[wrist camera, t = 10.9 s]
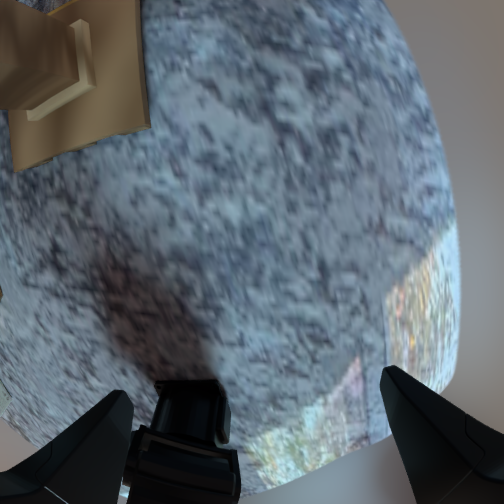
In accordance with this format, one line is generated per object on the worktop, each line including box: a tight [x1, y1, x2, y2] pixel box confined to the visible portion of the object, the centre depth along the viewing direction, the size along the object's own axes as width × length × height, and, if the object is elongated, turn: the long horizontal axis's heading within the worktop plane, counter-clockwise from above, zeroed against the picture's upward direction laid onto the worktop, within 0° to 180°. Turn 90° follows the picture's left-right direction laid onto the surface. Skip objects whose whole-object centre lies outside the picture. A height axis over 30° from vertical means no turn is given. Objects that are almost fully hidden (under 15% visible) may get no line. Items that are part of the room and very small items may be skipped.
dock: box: [8, 0, 151, 173], centre depth 15 cm, size 12×12×2 cm
